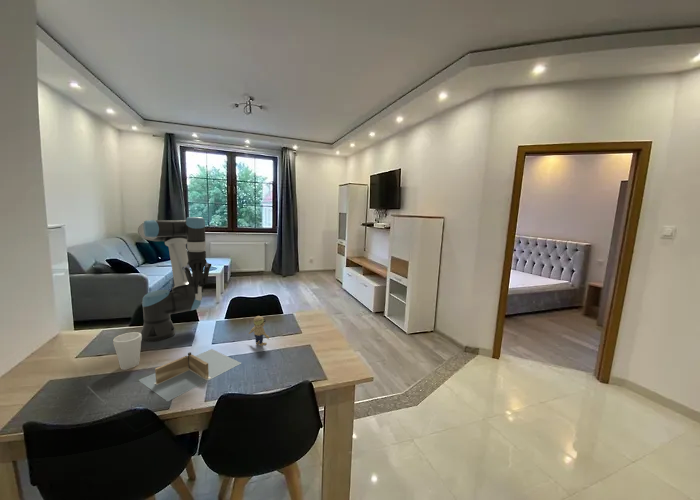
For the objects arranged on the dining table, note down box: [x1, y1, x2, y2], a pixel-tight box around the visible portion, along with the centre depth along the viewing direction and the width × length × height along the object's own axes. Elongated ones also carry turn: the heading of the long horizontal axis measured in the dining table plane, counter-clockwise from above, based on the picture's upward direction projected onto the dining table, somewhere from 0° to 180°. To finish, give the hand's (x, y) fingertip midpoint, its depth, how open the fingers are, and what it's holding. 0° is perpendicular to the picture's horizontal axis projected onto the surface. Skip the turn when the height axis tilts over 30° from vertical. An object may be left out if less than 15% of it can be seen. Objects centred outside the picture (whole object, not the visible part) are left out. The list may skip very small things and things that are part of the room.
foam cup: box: [112, 331, 143, 371], centre depth 122 cm, size 10×9×13 cm
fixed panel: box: [154, 355, 189, 384], centre depth 116 cm, size 1×12×6 cm, turn 148°
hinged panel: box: [187, 351, 209, 378], centre depth 119 cm, size 1×13×7 cm, turn 57°
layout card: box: [138, 348, 242, 402], centre depth 120 cm, size 22×31×1 cm
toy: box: [248, 315, 270, 346], centre depth 145 cm, size 13×6×15 cm, turn 65°
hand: (198, 299), depth 137 cm, fingers closed
